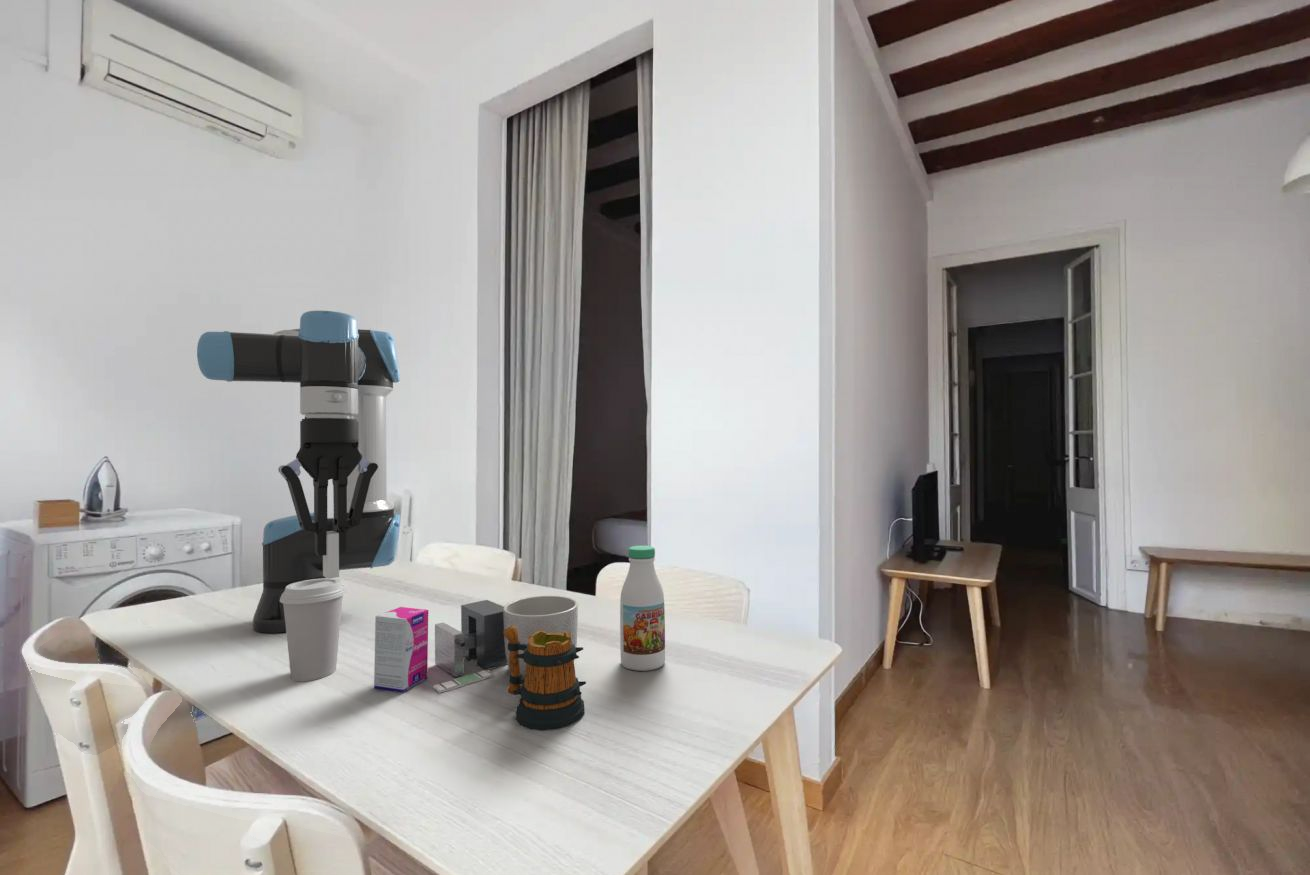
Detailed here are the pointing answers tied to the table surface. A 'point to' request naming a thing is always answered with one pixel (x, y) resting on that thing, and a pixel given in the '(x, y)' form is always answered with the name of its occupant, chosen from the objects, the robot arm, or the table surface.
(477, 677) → the strip
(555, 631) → the planter
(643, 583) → the milk bottle
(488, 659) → the box
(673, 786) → the table surface
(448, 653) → the grey block with crossbar
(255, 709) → the table surface
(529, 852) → the table surface
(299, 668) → the coffee cup
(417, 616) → the supplement box
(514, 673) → the mug
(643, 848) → the table surface
